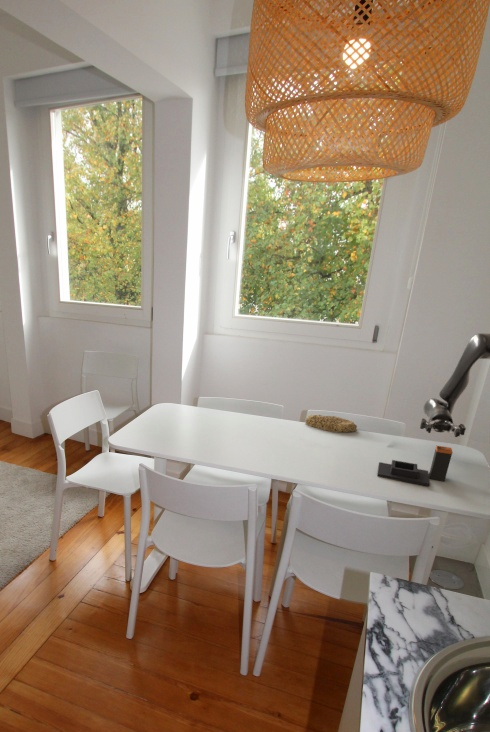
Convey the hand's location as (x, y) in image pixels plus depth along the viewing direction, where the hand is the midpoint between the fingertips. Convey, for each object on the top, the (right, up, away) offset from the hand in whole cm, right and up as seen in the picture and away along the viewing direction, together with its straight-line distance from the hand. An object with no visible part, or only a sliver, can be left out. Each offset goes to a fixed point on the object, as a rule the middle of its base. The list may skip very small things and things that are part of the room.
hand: (443, 432), depth 169 cm
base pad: (-16, -15, -3) cm, 22 cm away
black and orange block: (-5, -16, -4) cm, 17 cm away
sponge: (-26, +2, +40) cm, 47 cm away
